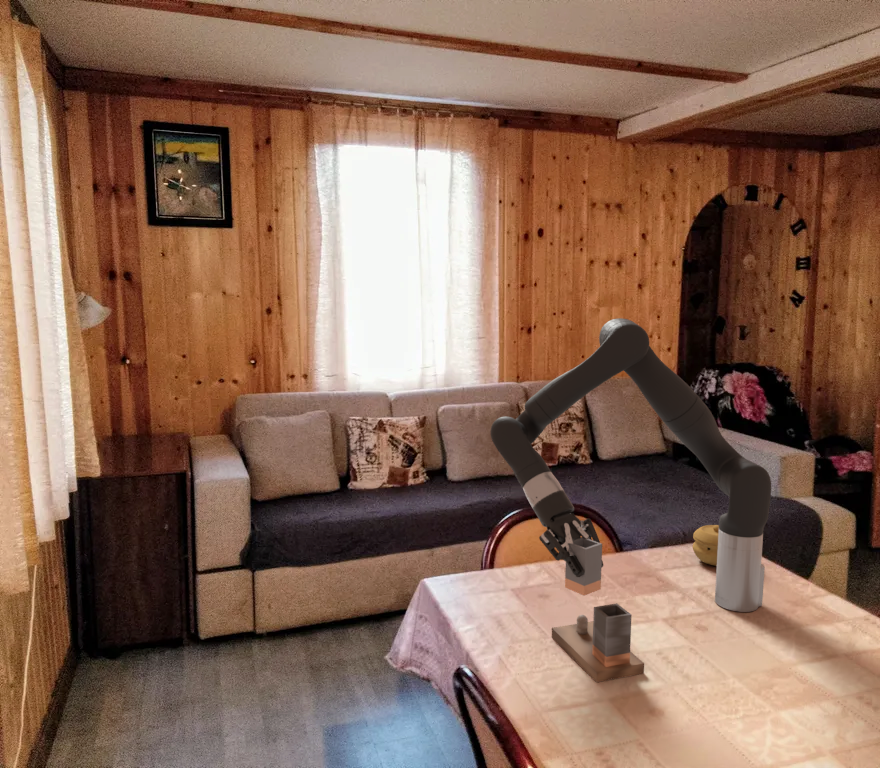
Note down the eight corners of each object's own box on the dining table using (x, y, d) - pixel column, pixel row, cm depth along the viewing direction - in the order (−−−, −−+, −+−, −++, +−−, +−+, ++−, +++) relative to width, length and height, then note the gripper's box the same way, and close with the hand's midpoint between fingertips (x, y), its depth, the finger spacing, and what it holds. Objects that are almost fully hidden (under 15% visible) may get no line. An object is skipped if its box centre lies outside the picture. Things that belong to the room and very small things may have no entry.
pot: (719, 551, 198) (721, 516, 196) (750, 567, 186) (752, 530, 185) (682, 556, 194) (684, 520, 192) (711, 573, 183) (713, 535, 181)
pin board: (594, 629, 153) (596, 577, 152) (643, 673, 136) (646, 615, 135) (551, 637, 150) (552, 583, 149) (596, 682, 133) (598, 622, 132)
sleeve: (564, 587, 147) (566, 542, 146) (581, 581, 150) (582, 536, 149) (584, 595, 143) (585, 549, 142) (600, 589, 147) (602, 543, 145)
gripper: (533, 495, 146) (577, 572, 138) (580, 483, 154) (625, 554, 147) (514, 514, 151) (555, 589, 143) (561, 501, 159) (603, 571, 152)
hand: (590, 571), depth 145 cm, fingers closed on sleeve, 5 cm apart
